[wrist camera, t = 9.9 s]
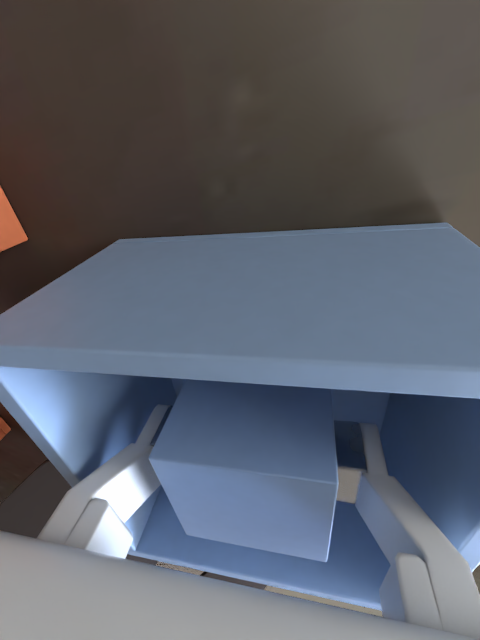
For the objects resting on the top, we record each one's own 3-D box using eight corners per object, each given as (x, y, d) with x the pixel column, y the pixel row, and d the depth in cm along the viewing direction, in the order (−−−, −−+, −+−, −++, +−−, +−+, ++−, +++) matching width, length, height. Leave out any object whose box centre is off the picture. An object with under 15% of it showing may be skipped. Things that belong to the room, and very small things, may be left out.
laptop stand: (278, 496, 32) (305, 592, 23) (153, 627, 35) (134, 758, 26) (94, 381, 27) (36, 448, 18) (-36, 547, 29) (-141, 677, 21)
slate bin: (118, 238, 11) (-50, 344, 6) (447, 221, 9) (656, 377, 3) (182, 422, 17) (126, 554, 12) (386, 443, 15) (427, 621, 10)
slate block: (202, 344, 11) (147, 458, 7) (328, 349, 10) (339, 484, 6) (219, 421, 13) (186, 535, 10) (322, 431, 12) (327, 563, 9)
